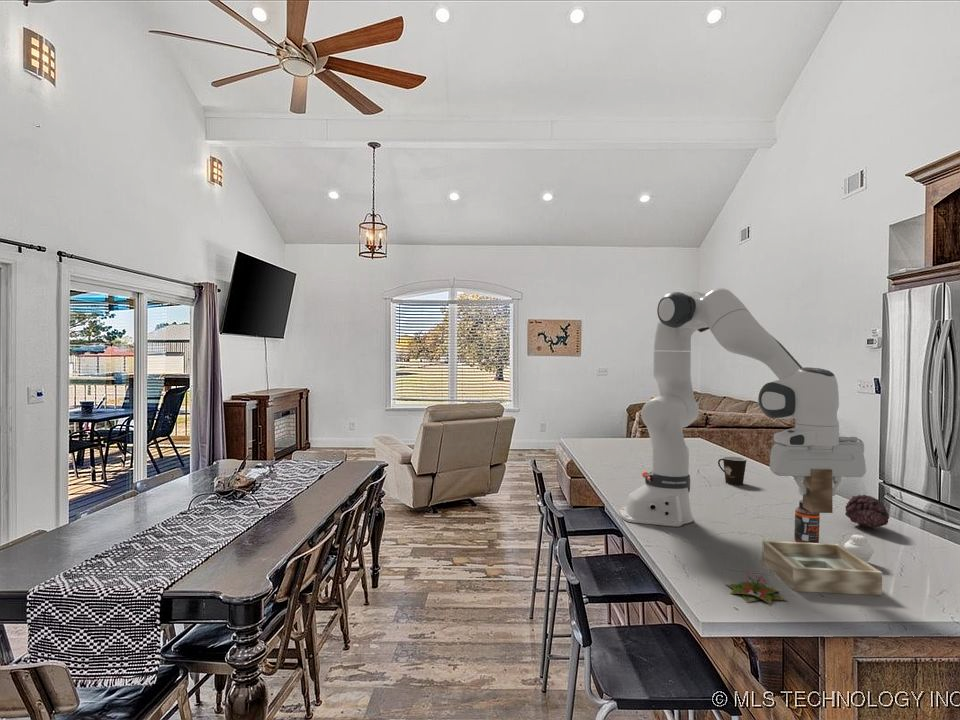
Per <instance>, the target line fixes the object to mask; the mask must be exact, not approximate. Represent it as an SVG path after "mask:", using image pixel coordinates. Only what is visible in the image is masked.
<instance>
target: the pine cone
mask: <svg viewBox="0 0 960 720" xmlns="http://www.w3.org/2000/svg"><path fill="white" fill-rule="evenodd" d="M845 516H846V517H847V518H848V519H850V522H852V523H855V524H857V525H858V526H859V527H860V526H862V527H865V528H872V529H874V528H879V527H883V526H886V525H888V523H889V519H890V515H889V513H888V512H887V509H886V507H885V506H884V504H883V503H882V502H880V500H879V499H878V498H875V497H874V496H871V495H866V494H863V495H861V494H859V495H853V496H851V498H850V499H849V500H848V502H847V503H846V505H845Z"/></svg>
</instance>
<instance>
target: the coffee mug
mask: <svg viewBox="0 0 960 720" xmlns="http://www.w3.org/2000/svg"><path fill="white" fill-rule="evenodd" d="M721 461H722V463H723V467H722V466H721V464H720V462H721ZM717 464H718V466H719V468H720V470H721V471H722V472H723V473H724V479H725V481H724V482H725V484H727V483H728V485H731V484H733V485H732V486H742V484H744V479H745V472H746V465H747V458H745V457H740V456H723V457H722V458H720V459H718V461H717Z"/></svg>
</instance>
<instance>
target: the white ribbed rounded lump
mask: <svg viewBox="0 0 960 720" xmlns="http://www.w3.org/2000/svg"><path fill="white" fill-rule="evenodd" d="M843 548H845V549H846V550H848V551H850V552H851V553H853V554H854V555H856V556H857V557H859V558H860V559H862V560H864V561H865V562H867V563H868V562H869V560H870V559H871V558H872V556H873V554H874V551H875V550H874V548H873V547H872V545H870V543H869V542H868V538H867V537H865V536H864V535H861V534H852V535H851V536H850V538H849V540H848V541H847V542H845V543H844V545H843Z"/></svg>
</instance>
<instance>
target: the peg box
mask: <svg viewBox="0 0 960 720" xmlns="http://www.w3.org/2000/svg"><path fill="white" fill-rule="evenodd" d="M761 543H762V544H761V548H762V549H761V561H762V562H763V563H764V564H765V565H766V566H767V567H769V569H771V570H772V572H773V573H775V574H776V575H777V576H778V577H779V578H780V579H781V580H782V581H784V583H785V584H787V585H788V586H789V587H790V588H791V589H792V590H793V591H794V592H805V593H807V592H809V593H811V592H812V593H828V594H829V593H830V594H846V595H847V594H848V595H866V596H867V595H868V596H869V595H870V596H883V572H882V571H880V570H879V569H878V568H876V567H874V566H872V565H871V564H869V563H868V562H865V561H864V560H862V559H860V558H859V557H857V556H856V555H854V554H853V553H851V552H850V551H848V550H846V549H845V548H844V546H842V545H840V544H839V543H828V542H827V543H824V542H821V543H820V542H819V543H804V542H797V541H779V540H776V541H775V540H762V541H761Z"/></svg>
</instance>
